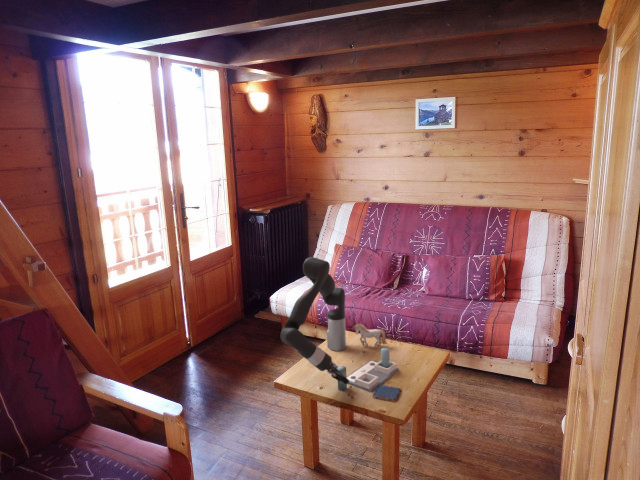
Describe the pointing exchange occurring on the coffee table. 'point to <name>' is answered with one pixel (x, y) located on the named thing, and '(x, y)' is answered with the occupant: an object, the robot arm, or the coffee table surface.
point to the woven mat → (387, 393)
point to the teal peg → (341, 385)
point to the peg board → (373, 372)
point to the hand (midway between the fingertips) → (346, 379)
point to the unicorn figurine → (370, 335)
